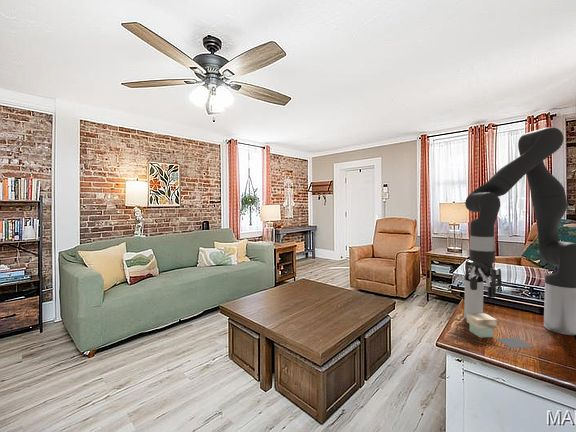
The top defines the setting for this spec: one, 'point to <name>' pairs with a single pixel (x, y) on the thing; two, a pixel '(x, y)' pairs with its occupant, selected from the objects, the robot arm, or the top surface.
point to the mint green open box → (481, 332)
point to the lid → (481, 321)
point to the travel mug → (473, 297)
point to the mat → (514, 342)
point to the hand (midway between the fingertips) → (482, 293)
